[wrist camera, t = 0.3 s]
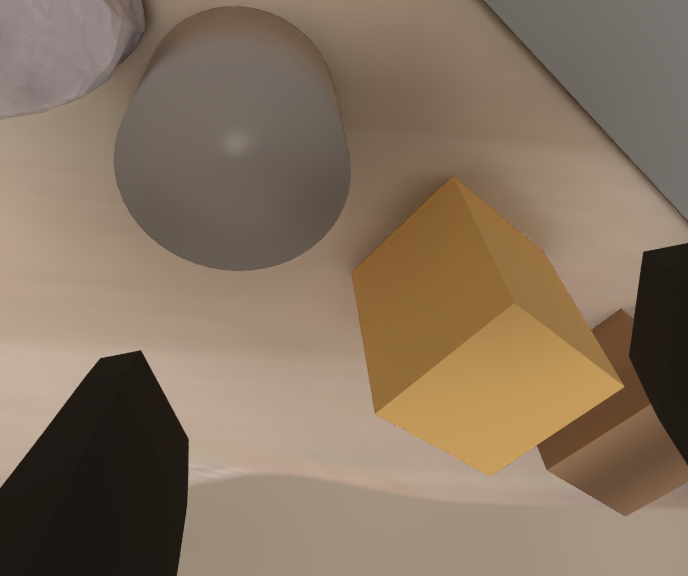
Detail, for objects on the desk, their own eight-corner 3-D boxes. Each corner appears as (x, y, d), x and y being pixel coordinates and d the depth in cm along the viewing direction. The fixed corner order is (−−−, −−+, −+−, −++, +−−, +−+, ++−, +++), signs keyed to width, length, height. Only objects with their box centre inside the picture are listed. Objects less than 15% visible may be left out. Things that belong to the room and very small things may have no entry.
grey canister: (373, 95, 17) (397, 163, 14) (258, 219, 19) (256, 303, 16) (219, -42, 14) (205, 2, 11) (107, 116, 17) (69, 191, 13)
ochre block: (544, 252, 21) (624, 386, 16) (444, 334, 22) (489, 476, 18) (453, 174, 19) (514, 302, 14) (351, 271, 20) (374, 414, 16)
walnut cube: (687, 365, 25) (748, 447, 22) (584, 432, 27) (625, 516, 24) (619, 306, 23) (676, 388, 19) (512, 384, 25) (547, 470, 21)
